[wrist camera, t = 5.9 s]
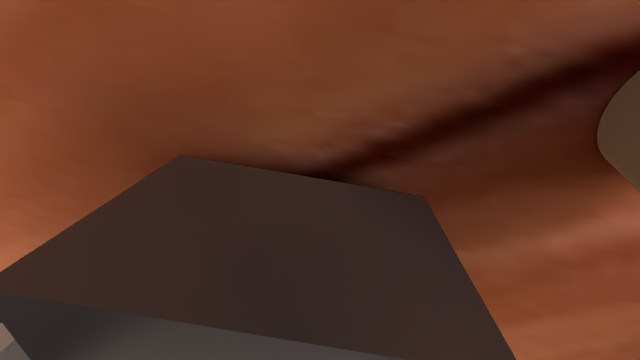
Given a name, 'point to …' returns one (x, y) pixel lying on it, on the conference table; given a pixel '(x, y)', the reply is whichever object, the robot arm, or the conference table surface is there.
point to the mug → (623, 131)
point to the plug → (248, 275)
